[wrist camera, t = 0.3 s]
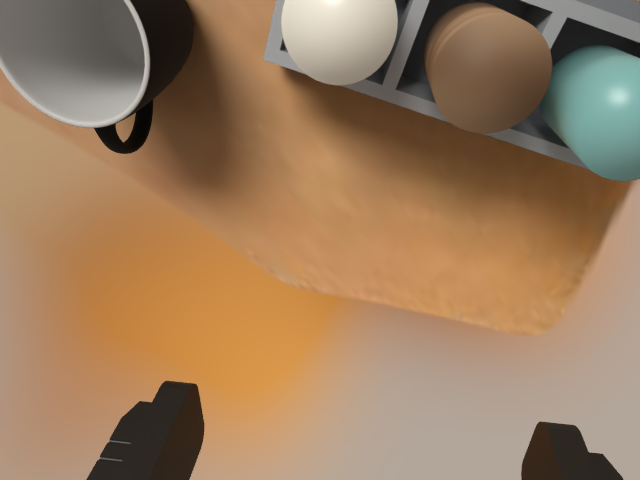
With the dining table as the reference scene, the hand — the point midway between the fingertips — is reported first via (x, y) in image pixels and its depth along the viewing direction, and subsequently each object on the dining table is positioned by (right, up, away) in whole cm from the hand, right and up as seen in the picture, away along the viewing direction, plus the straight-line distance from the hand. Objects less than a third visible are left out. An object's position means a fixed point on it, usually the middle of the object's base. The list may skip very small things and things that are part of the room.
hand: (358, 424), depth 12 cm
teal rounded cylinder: (+14, +13, +15) cm, 24 cm away
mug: (-13, +19, +23) cm, 32 cm away
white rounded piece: (+1, +17, +15) cm, 22 cm away
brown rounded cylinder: (+7, +15, +15) cm, 22 cm away
